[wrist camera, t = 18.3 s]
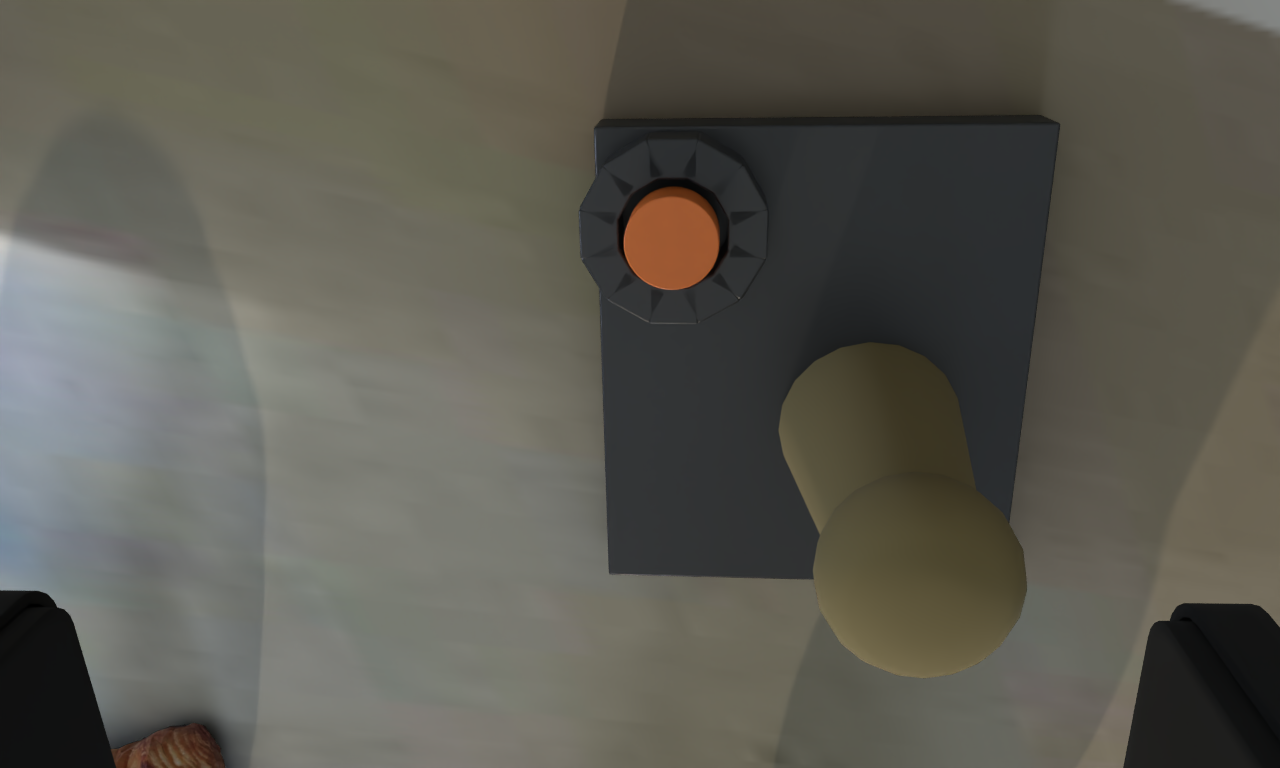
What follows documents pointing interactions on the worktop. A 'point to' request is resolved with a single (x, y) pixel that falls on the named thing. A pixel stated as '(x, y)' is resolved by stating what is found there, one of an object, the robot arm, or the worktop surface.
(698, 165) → the scale
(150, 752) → the pastry
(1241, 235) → the worktop surface
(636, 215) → the button
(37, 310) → the worktop surface
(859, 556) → the cork
